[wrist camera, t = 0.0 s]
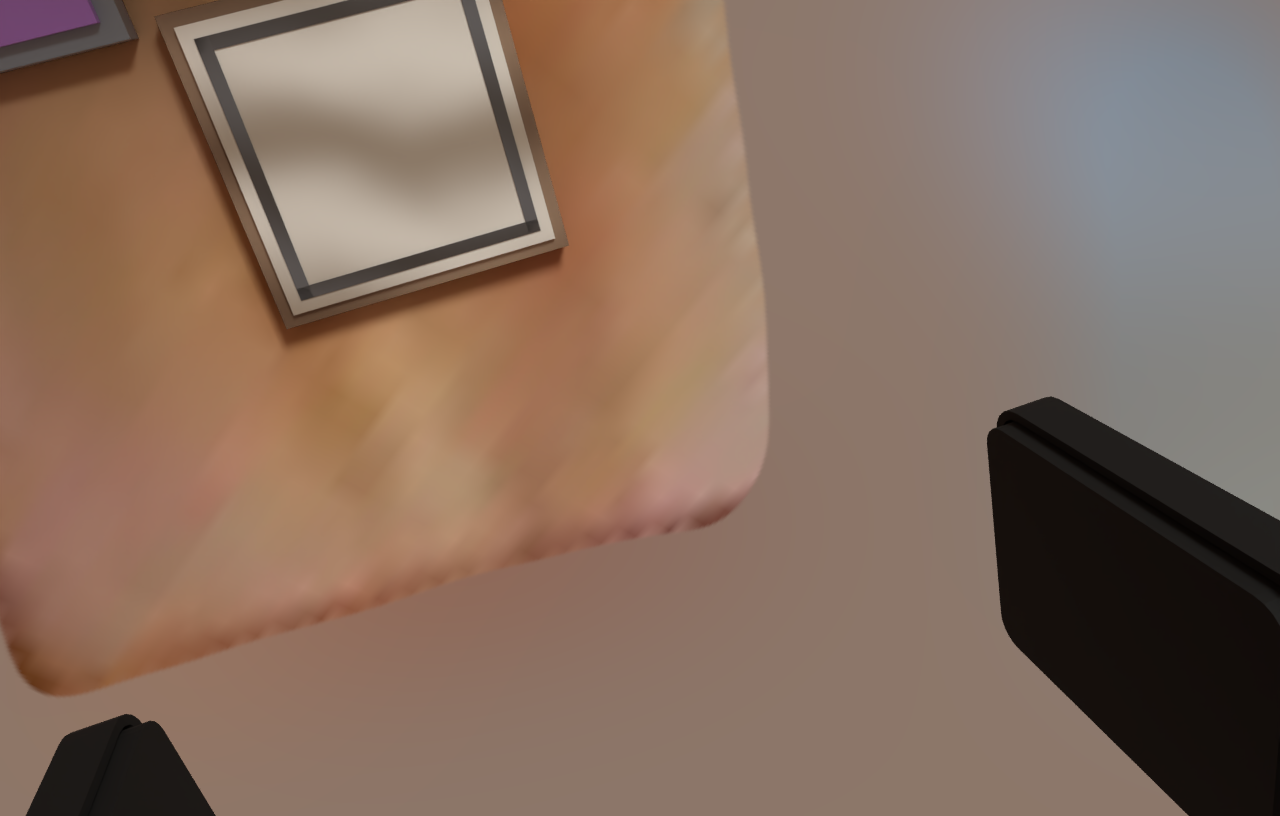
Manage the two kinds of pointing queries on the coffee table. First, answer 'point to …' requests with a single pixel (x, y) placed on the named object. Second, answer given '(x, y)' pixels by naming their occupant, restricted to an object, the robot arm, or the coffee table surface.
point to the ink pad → (59, 29)
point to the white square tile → (368, 142)
